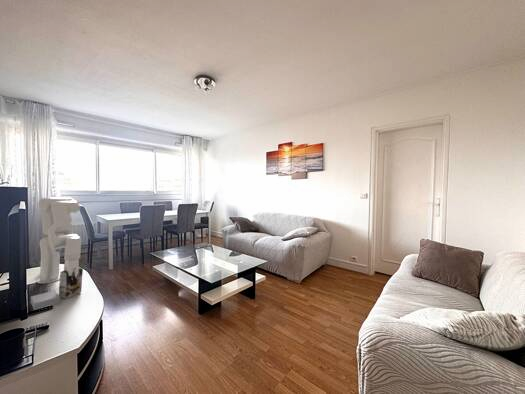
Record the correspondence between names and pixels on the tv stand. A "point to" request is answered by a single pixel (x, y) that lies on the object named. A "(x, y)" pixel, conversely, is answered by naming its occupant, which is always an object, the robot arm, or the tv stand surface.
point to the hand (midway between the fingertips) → (71, 283)
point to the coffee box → (65, 287)
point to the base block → (45, 299)
